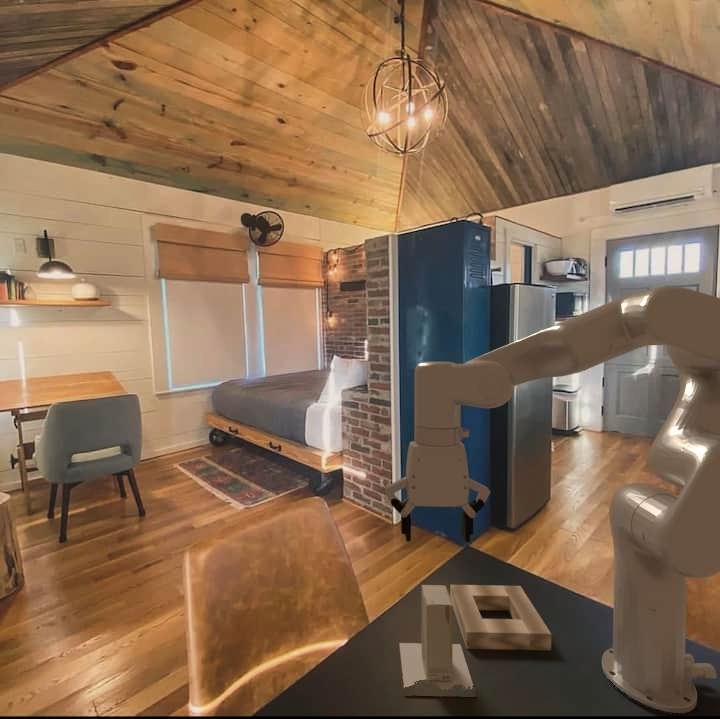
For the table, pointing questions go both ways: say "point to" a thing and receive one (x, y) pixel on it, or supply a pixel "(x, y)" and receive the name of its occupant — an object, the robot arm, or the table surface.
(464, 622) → the holder
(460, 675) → the mat
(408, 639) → the table surface
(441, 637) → the skincare box
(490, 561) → the table surface
